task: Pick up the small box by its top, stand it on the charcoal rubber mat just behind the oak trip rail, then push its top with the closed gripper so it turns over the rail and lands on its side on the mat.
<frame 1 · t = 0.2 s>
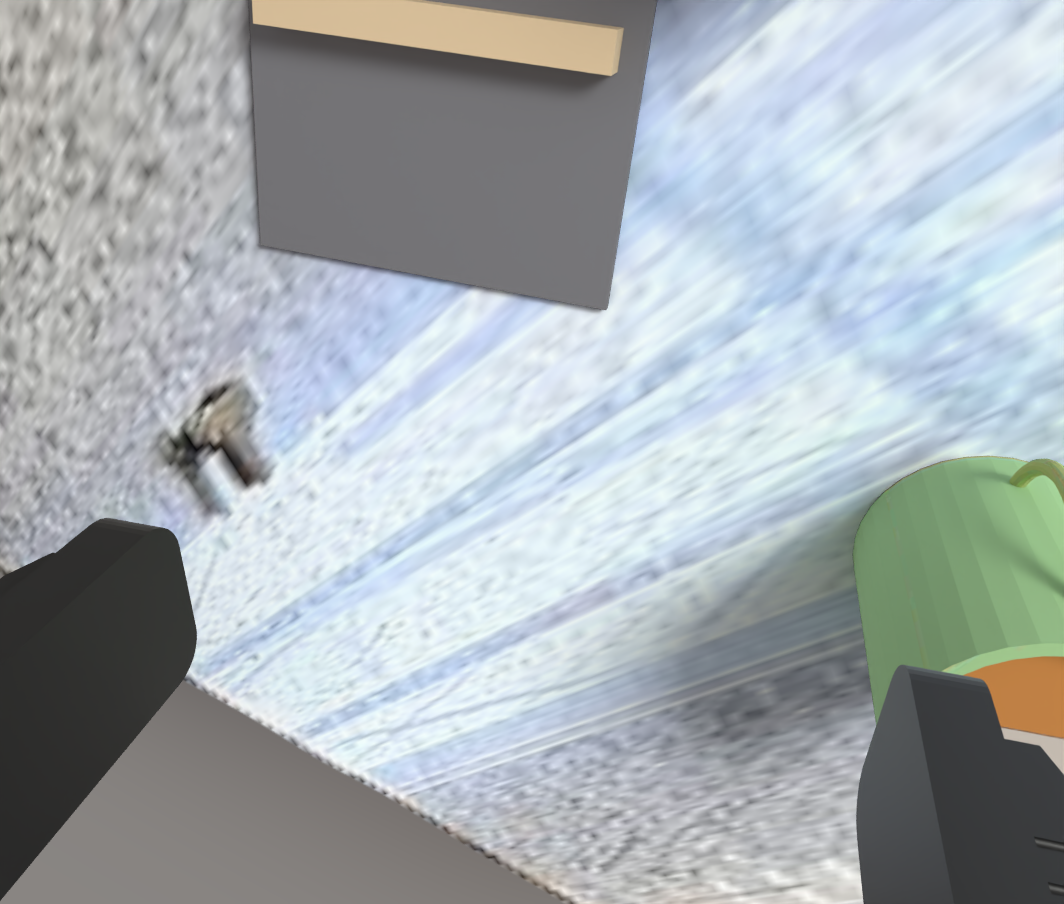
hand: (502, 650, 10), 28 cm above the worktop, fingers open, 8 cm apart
mug: (984, 530, 38), on the worktop
mat: (442, 52, 34), on the worktop
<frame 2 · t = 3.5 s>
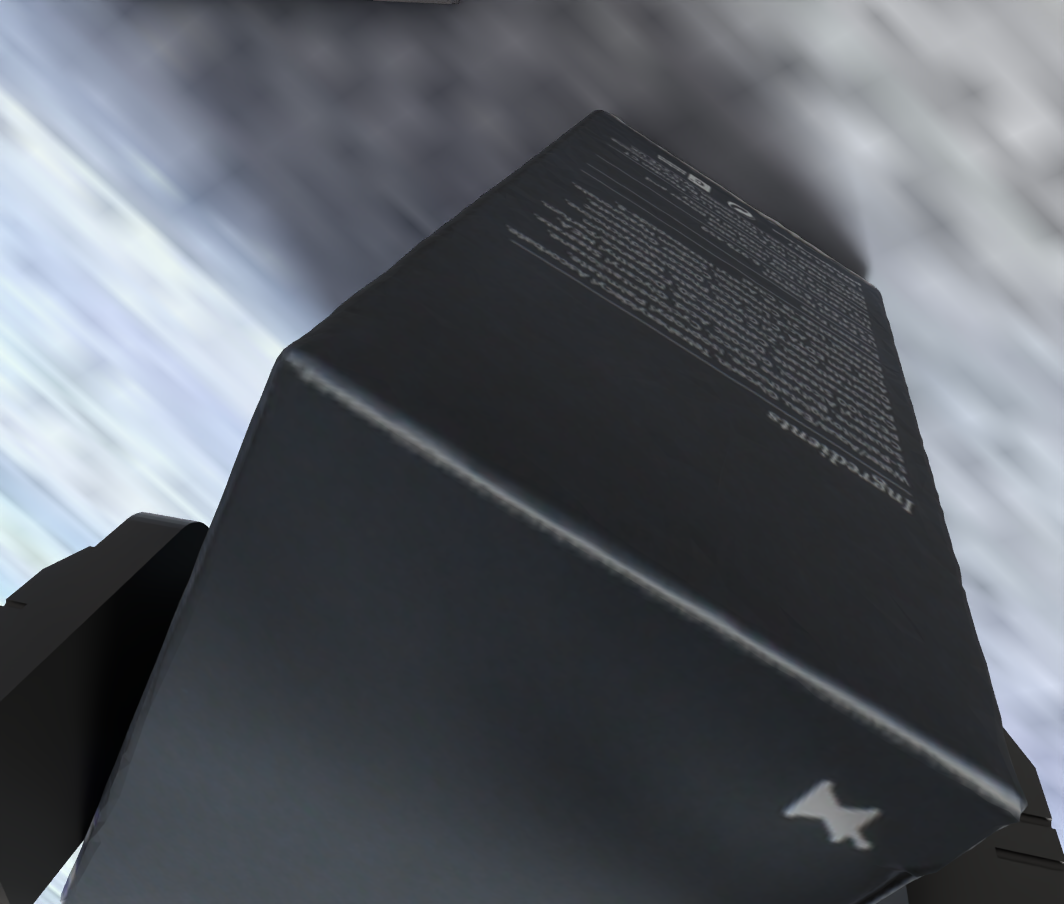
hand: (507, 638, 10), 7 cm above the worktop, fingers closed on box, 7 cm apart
box: (618, 371, 16), on the worktop, touching gripper
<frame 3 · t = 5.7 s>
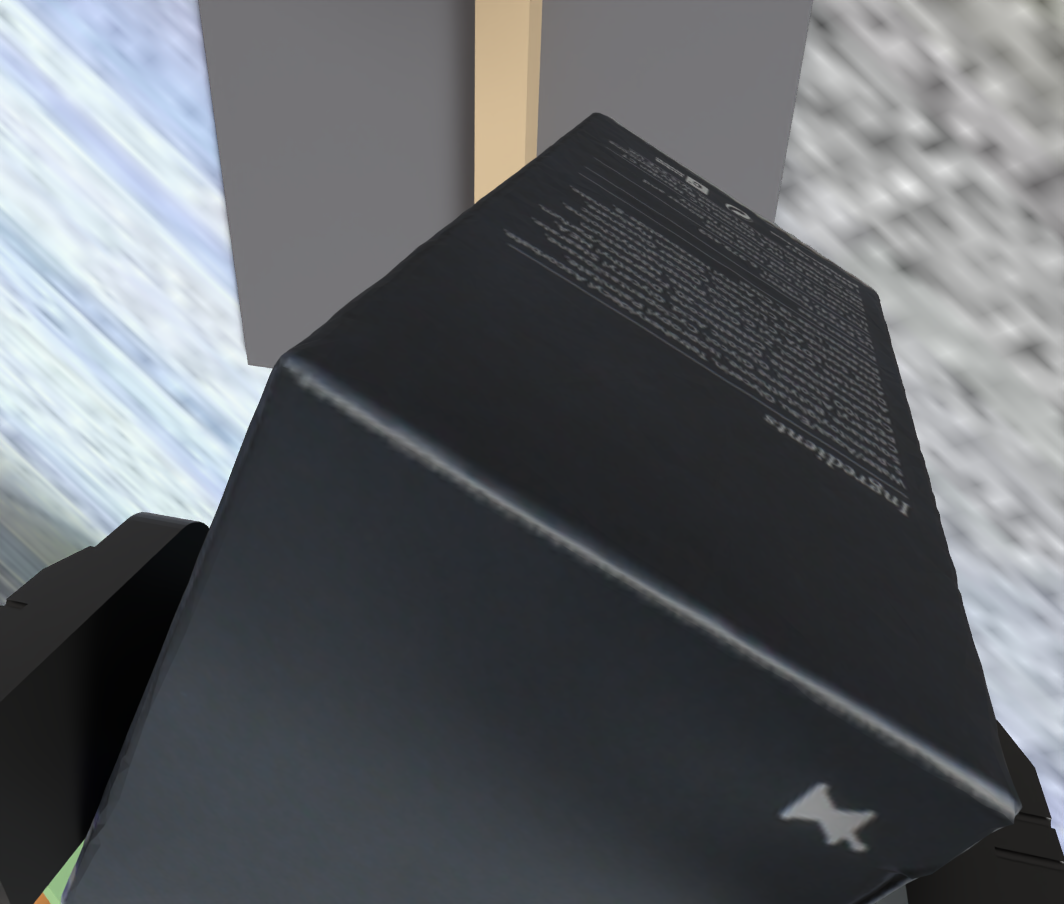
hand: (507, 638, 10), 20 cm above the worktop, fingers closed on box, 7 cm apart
box: (616, 372, 16), point 12 cm above the worktop, touching gripper
mug: (172, 673, 43), on the worktop
mat: (484, 161, 27), on the worktop
when the fingers open (9 cm above the worktop, at t = 8.3 s): box stays where it is, resting on mat.
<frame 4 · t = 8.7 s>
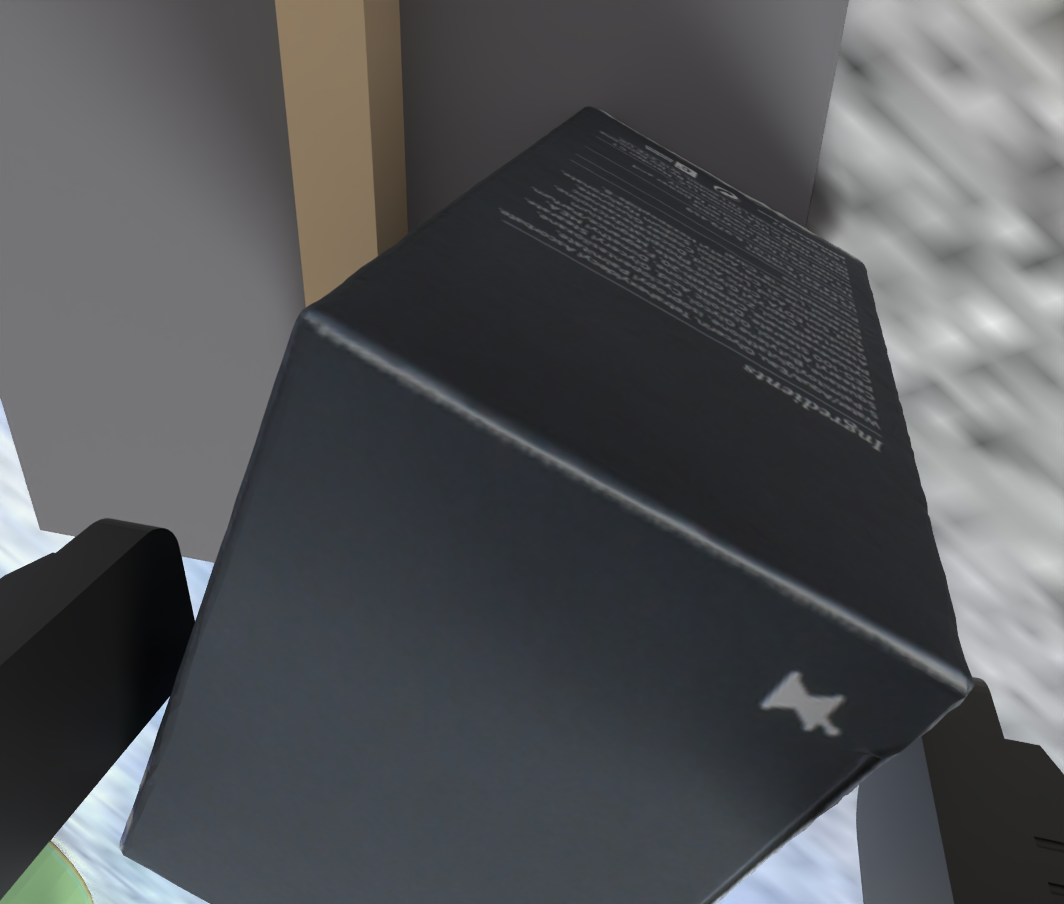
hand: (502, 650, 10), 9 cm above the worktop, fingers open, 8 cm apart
box: (620, 355, 17), resting on mat
mug: (11, 871, 34), on the worktop
mat: (336, 269, 18), on the worktop
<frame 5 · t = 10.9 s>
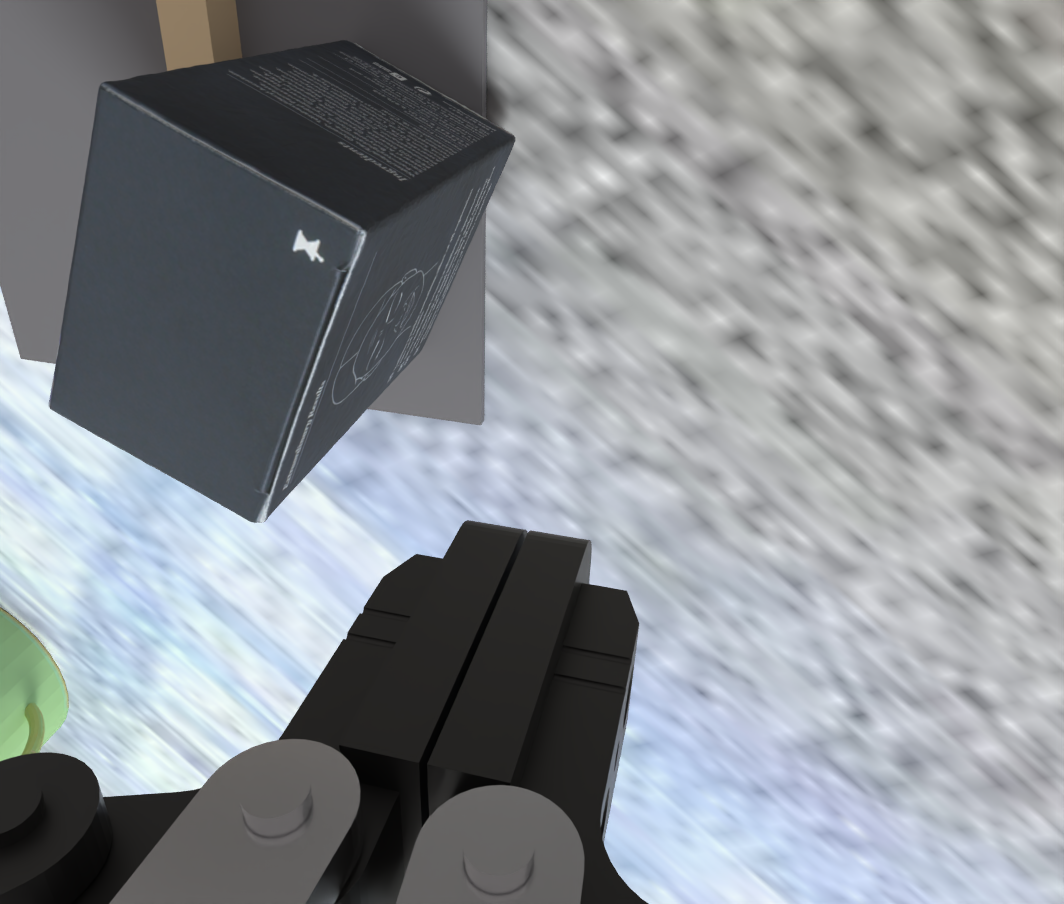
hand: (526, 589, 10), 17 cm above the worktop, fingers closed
box: (389, 206, 26), resting on mat
mug: (2, 668, 43), on the worktop
mat: (210, 154, 27), on the worktop
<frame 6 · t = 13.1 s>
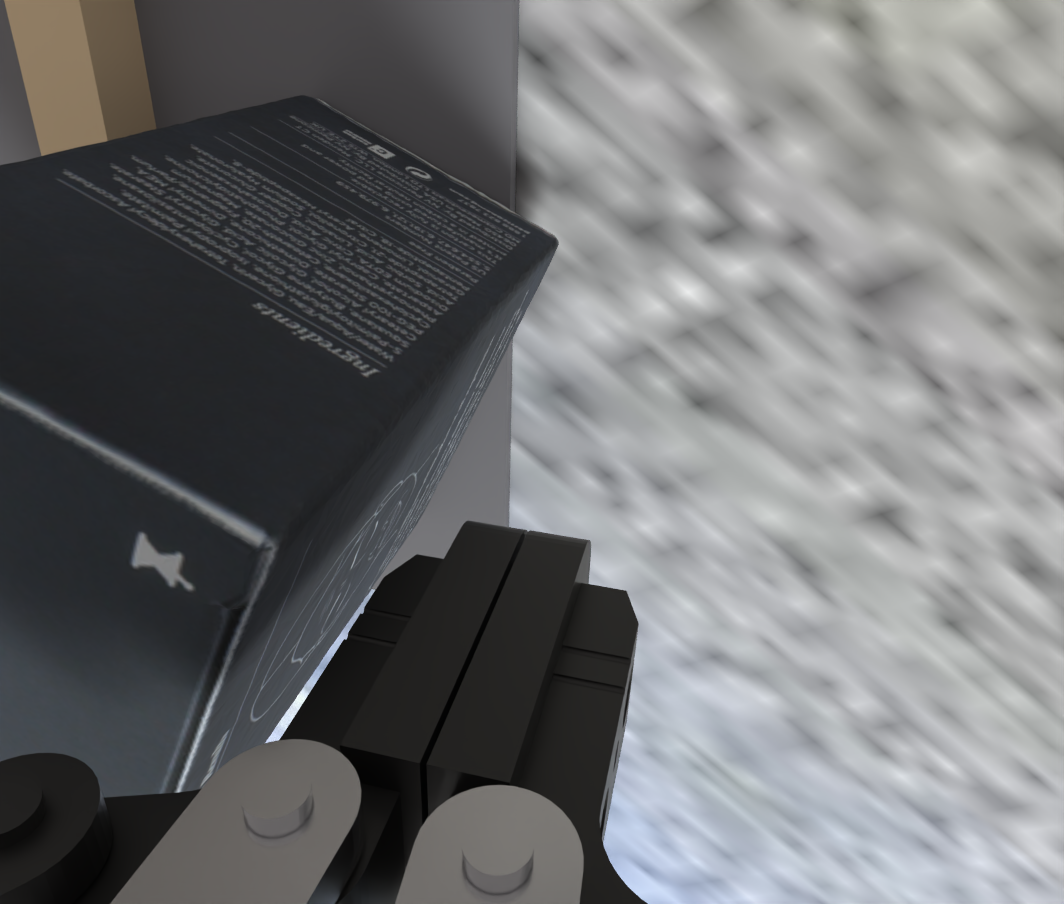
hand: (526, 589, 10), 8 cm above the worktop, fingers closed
box: (372, 328, 18), resting on mat, touching gripper
mat: (119, 249, 19), on the worktop
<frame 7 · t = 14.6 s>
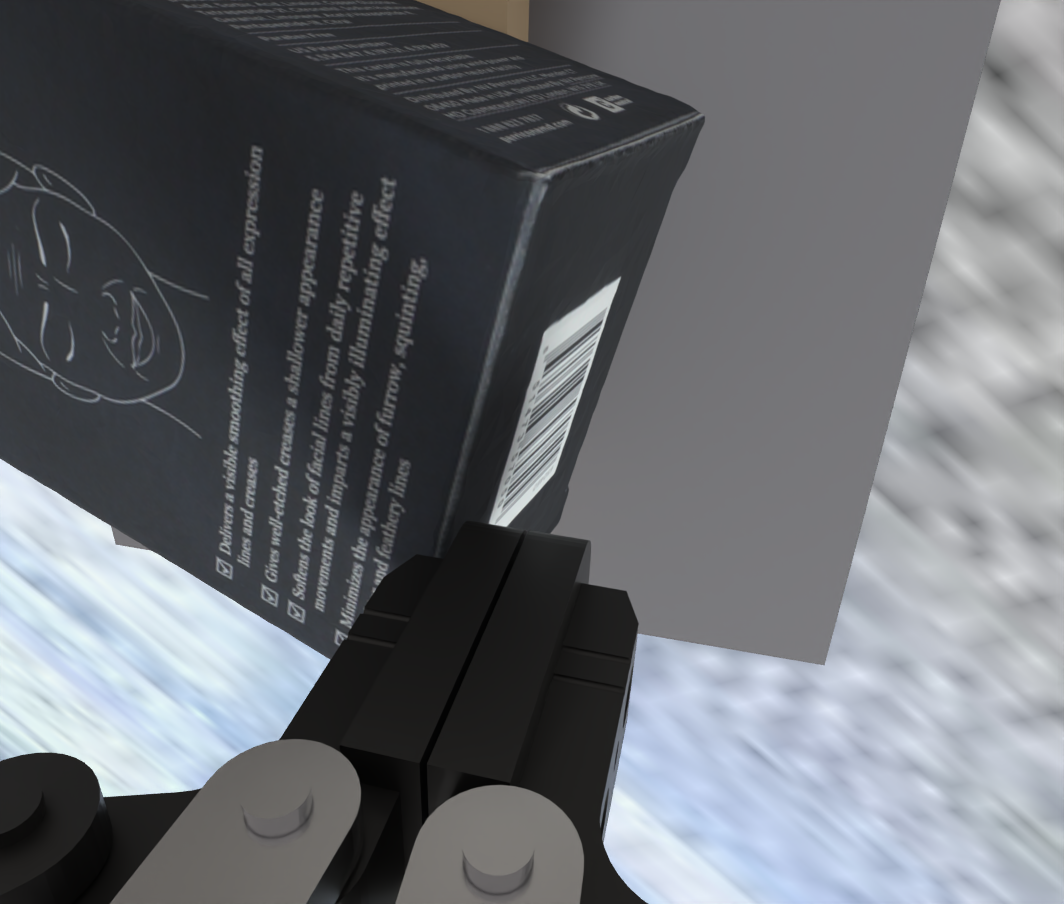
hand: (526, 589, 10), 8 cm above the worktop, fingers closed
box: (574, 421, 12), point 6 cm above the worktop, touching gripper
mat: (442, 278, 18), on the worktop
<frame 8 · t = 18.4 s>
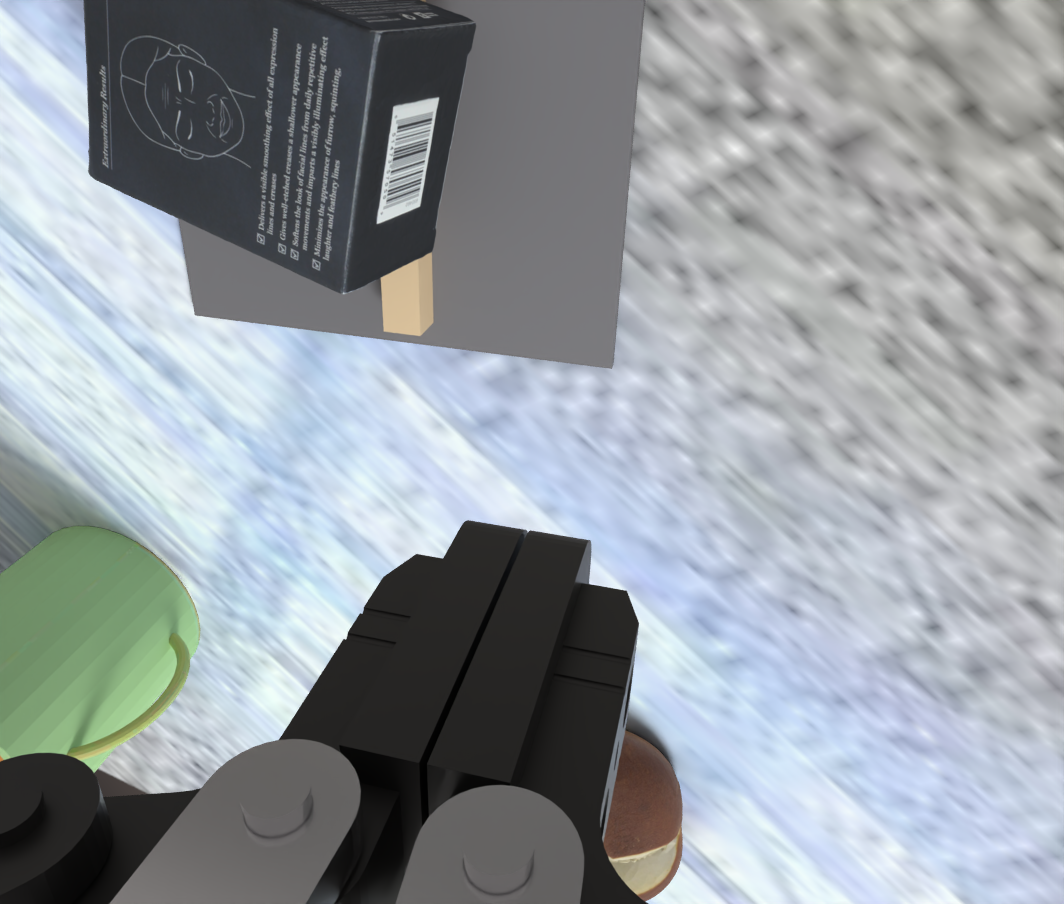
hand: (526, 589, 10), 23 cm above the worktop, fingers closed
bread: (581, 784, 46), on the worktop
box: (419, 164, 26), point 5 cm above the worktop, touching mat
mug: (139, 605, 48), on the worktop
mat: (387, 132, 32), on the worktop
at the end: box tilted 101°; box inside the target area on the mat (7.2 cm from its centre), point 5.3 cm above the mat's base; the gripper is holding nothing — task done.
